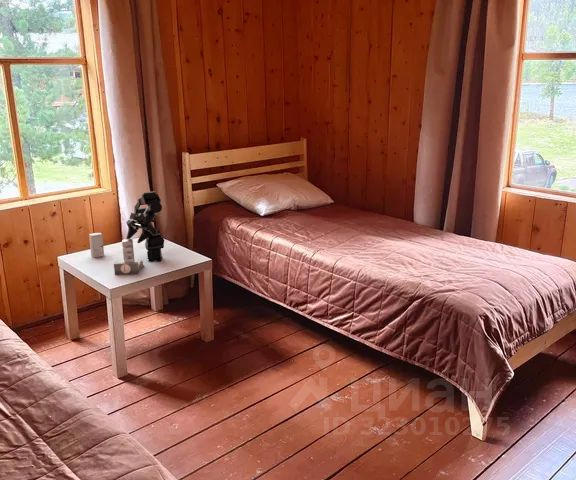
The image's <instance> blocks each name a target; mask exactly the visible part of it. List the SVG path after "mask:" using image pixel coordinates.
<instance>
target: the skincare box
mask: <svg viewBox="0 0 576 480" xmlns="http://www.w3.org/2000/svg"><path fill="white" fill-rule="evenodd" d="M88 236H89V245H90V248H89V249H90V256H91V257H92V258H98V257H103V256H105V250H104V249H105V248H104V239H103V234H102V233H101V232H94V233H88Z"/></svg>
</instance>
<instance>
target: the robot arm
mask: <svg viewBox="0 0 576 480" xmlns="http://www.w3.org/2000/svg"><path fill="white" fill-rule="evenodd" d="M161 201H162V200H161V197H160V196H159V194H158V193H157V191H155V190H154V191H146V192H142V194H141V197H138V198H137V203H136V204H135V205H134V212H130V215H129V218H128V219H127V221H126V222H125V224H126V226H127V227H128V229H127V230H128V231H127V234H126V239H132V238H133V236H135V234H137V233H138V230H140V229H141V234H140V236H139V238H138V240H137V244H141V243H142V242H144V241H145V243H144V246H145V249H146V250H147V252H146V253H147V254H146V257H147V259H148V260H147V262H161V261H162V259H163V253H162V249H164V248H165V239H164V237H163V236H162V233H161V232H160V230H158V228H156V227H155V226H154V225H153V223H154V222H155V217H156V216H157V215H158V214H159V213H161V211H162V209H163V206H162V204H161ZM144 205H145V206H146V205H147V206H146V207H141V206H144Z"/></svg>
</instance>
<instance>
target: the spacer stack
mask: <svg viewBox="0 0 576 480" xmlns="http://www.w3.org/2000/svg"><path fill="white" fill-rule="evenodd" d="M133 242H134V241H133V238H130V239H125V238H124V239H122V241H121V245H122V255H123V260H124V262H135V261H134V260H135V252H134V243H133Z"/></svg>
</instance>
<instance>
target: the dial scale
mask: <svg viewBox="0 0 576 480" xmlns="http://www.w3.org/2000/svg"><path fill="white" fill-rule="evenodd" d="M134 261H135V262H124V259H122V260H120V261H116V262H114V263H113V271H114V275H115V276H118V275H119V276H120V275H121V276H122V275H125V276H126V275H138V274H139V273H140V272H141V270H142V269H143V267H144V261H142V259H134Z"/></svg>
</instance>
